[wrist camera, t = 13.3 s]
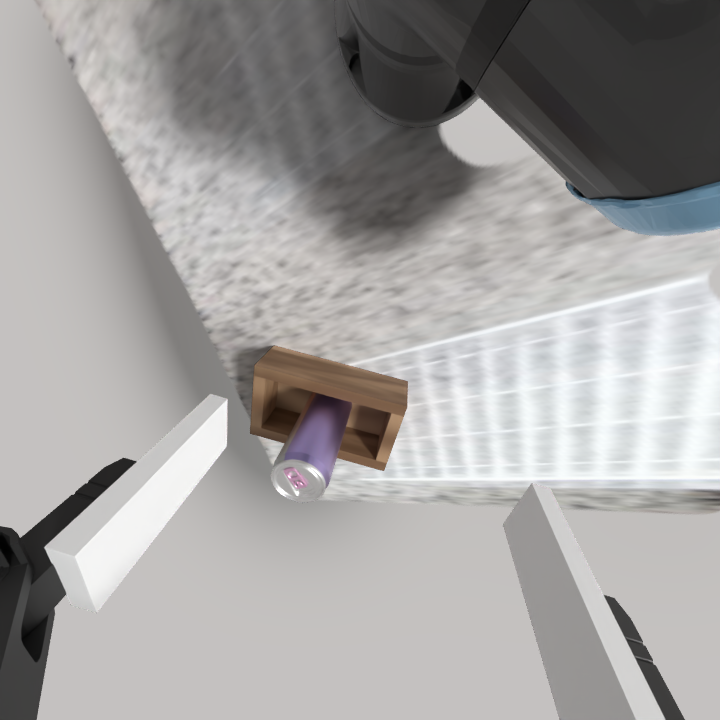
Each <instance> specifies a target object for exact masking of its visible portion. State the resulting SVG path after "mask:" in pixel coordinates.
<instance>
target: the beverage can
mask: <svg viewBox="0 0 720 720" xmlns="http://www.w3.org/2000/svg"><path fill="white" fill-rule="evenodd" d="M351 409H352V402H348V401H345V400H341V399H337V398H334V397H330V396H326V395H323V394H319V393H316V392H312V394H311V396H310V398H309V400H308V401H307V403H306V405H305V407H304V409H303V411H302V412H301V414H300V416H299V418H298V420H297V422H296V424H295V425H294V427H293V429H292V431H291V433H290V435H289V436H288V438H287V440H286V442H285V444H284V446H283V448H282V449H281V451H280V453H279V455H278V457H277V459H276V460H275V462H274V466H273V470H272V473H271V481H272V484H273V486H274V487H275V489H276V490H277V491H278V492H279V493H280V494H281V495H283V496H284V497H286V498H288V499H290V500H293V501H296V502H302V503H308V502H313V501H316V500H318V499H319V498H320V497H321V496H322V495H323V494H324V492H325V489H326V488H327V487H328V485H329V482H330V479H331V475H332V472H333V469H334V465H335V462H336V459H337V455H338V452H339V449H340V445H341V442H342V439H343V435H344V432H345V429H346V425H347V422H348V419H349V415H350V412H351Z"/></svg>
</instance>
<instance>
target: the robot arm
mask: <svg viewBox="0 0 720 720" xmlns="http://www.w3.org/2000/svg"><path fill="white" fill-rule="evenodd" d="M334 11H335V24H336V33H337V39H338V44H339V48H340V52H341V55H342V59H343V61H344V64H345V67H346V69H347V71H348V74H349V76H350V78H351V80H352V82H353V84H354V86H355V88H356V90H357V91H358V93H359V94H360V96H361V97H362V99H363V100H364V101H365V102H366V104H367V105H368V106H369V107H370V108H371V109H372V110H374V111H375V112H376V113H377V114H378V115H380V116H381V117H383V118H384V119H386V120H388V121H390V122H392V123H395V124H398V125H401V126H406V127H428V126H433V125H437V124H440V123H443V122H445V121H448V120H450V119H452V118H454V117H455V116H457V115H459V114H460V113H462V112H463V111H464V110H466V109H467V108H468V107H470V106H471V105H472V104H473V103H474V102H475V101H476V100H477V99H478V98H481V99H482V100H483V101H484V102H485V103H486V104H487V105H488V106H489V107H490V108H491V109H492V110H493V111H494V112H495V113H496V114H497V115H498V116H499V117H500V118H501V119H503V120H504V121H505V122H506V123H507V124H508V125H509V126H510V127H511V128H512V129H513V130H514V131H515V132H516V133H517V134H518V135H519V136H520V137H521V138H522V139H523V140H524V141H525V142H526V143H528V145H529V146H530V147H531V148H533V149H534V150H535V151H536V152H537V153H538V154H539V155H540V156H541V157H542V158H543V159H544V160H545V161H546V162H547V163H548V164H549V165H550V166H551V167H552V168H553V169H554V170H555V171H556V172H557V173H558V174H559V175H560V176H561V177H562V178H563V179H565V180H566V187H567V188H568V190H569V191H570V192H571V193H572V194H573V195H574V196H575V197H576V198H577V199H579V200H581V201H584V202H586V203H588V204H590V205H592V206H594V207H595V208H596V209H597V210H598V211H599V212H600V213H602V214H603V215H604V216H605V217H606V218H607V219H609V220H610V221H611V222H612V223H613V224H615V225H616V226H618V227H620V228H622V229H627V230H629V231H632V232H635V233H638V234H645V235H656V236H670V235H684V234H692V233H699V232H705V231H710V230H715V229H719V228H720V0H334ZM227 400H228V399H227V398H223V397H219V396H216V395H212V394H210V395H209V396H208V397H207V398H206V399H205V400H203V401H202V402H201V403H200V404H199V405H198V406H197V407H196V408H195V409H194V410H193V411H192V412H190V413H189V414H188V415H187V416H186V417H185V418H184V419H183V420H182V421H181V422H180V423H178V425H176V426H175V427H174V428H173V429H172V430H171V431H170V432H169V433H168V434H167V435H165V436H164V437H163V438H162V439H161V440H160V441H159V442H158V443H157V444H156V445H155V446H153V448H151V449H150V450H149V451H148V452H147V453H146V454H145V455H144V456H143V457H142V458H140V459H139V460H138V461H137V462H136V461H133V460H130V459H126V458H122V459H120V460H118V461H116V462H114V463H112V464H110V465H108V466H106V467H104V468H103V469H102V470H101V471H100V472H98V473H97V474H96V475H95V476H94V477H93V478H91V479H90V480H89V482H88V483H87V484H84V485H83V486H82V487H81V488H79V489H78V490H77V491H76V492H75V494H74V495H71V496H70V497H69V498H68V499H66V500H65V501H64V502H63V503H62V504H60V505H59V506H58V507H57V508H56V509H55V510H53V511H52V512H51V513H50V514H48V515H47V516H46V517H45V518H44V519H43V520H41V521H40V522H39V523H38V524H37V525H35V526H34V527H33V528H32V529H31V530H30V531H28V532H27V533H26V534H25V535H24V536H22V537H21V538H20V537H19V535H18V534H17V533H16V532H15V531H14V530H13V529H12V528H7V527H1V526H0V720H36V719H37V714H38V708H39V701H40V696H41V691H42V685H43V679H44V673H45V668H46V662H47V656H48V650H49V644H50V639H51V633H52V627H53V621H54V616H55V610H54V607H55V606H56V605H57V604H58V603H59V602H60V601H61V600H62V598H63V597H64V596H65V595H66V596H67V598H68V600H69V603H70V605H72V606H75V607H78V608H82V609H85V610H88V611H91V612H95V613H97V612H98V611H99V610H100V608H101V607H102V606H103V604H104V603H105V602H106V600H107V599H108V598H109V597H110V595H111V594H112V593H113V592H114V590H115V589H116V588H117V586H118V585H119V584H120V583H121V581H122V580H123V579H124V577H125V576H126V575H127V574H128V572H129V571H130V570H131V568H132V567H133V566H134V564H135V563H136V562H137V561H138V559H139V558H140V557H141V556H142V554H143V553H144V552H145V550H146V549H147V548H148V546H149V545H150V544H151V543H152V541H153V540H154V539H155V538H156V536H157V535H158V534H159V533H160V531H161V530H162V529H163V527H164V526H165V525H166V524H167V522H168V521H169V520H170V518H171V517H172V516H173V515H174V513H175V512H176V511H177V509H178V508H179V507H180V506H181V504H182V503H183V502H184V500H185V499H186V498H187V496H188V495H189V494H190V493H191V491H192V490H193V489H194V488H195V486H196V485H197V484H198V482H199V481H200V480H201V479H202V477H203V476H204V475H205V473H206V472H207V471H208V470H209V468H210V467H211V466H212V464H213V463H214V462H215V461H216V459H217V458H218V457H219V455H220V454H221V453H222V452H223V450H224V449H225V448H226V446H227V402H228V401H227ZM503 526H504V530H505V533H506V536H507V540H508V544H509V547H510V550H511V554H512V557H513V561H514V564H515V568H516V571H517V574H518V578H519V581H520V584H521V588H522V592H523V595H524V599H525V602H526V606H527V609H528V612H529V616H530V619H531V623H532V626H533V630H534V633H535V636H536V640H537V643H538V647H539V650H540V653H541V657H542V661H543V664H544V667H545V671H546V674H547V678H548V681H549V685H550V688H551V692H552V695H553V699H554V702H555V705H556V709H557V712H558V715H559V719H560V720H685V719H684V717H683V715H682V714H681V712H680V710H679V708H678V706H677V704H676V702H675V700H674V699H673V697H672V695H671V693H670V691H669V689H668V687H667V686H666V684H665V682H664V680H663V678H662V676H661V674H660V672H659V671H658V669H657V667H656V666H655V665H654V664H653V659H652V658H651V656H650V654H649V652H648V650H647V648H646V646H644V645H643V641H642V639H641V637H640V635H639V633H638V631H637V630H636V628H635V626H634V624H633V622H632V620H631V619H630V617H629V616H628V615H627V614H626V612H625V611H624V610H623V608H622V607H621V606H620V605H619V603H618V602H617V601H616V600H615V598H612V597H609V596H605V595H603V593H602V591H601V589H600V587H599V585H598V583H597V581H596V579H595V577H594V575H593V573H592V571H591V569H590V567H589V565H588V563H587V561H586V559H585V557H584V555H583V553H582V551H581V549H580V547H579V545H578V543H577V541H576V539H575V537H574V535H573V533H572V531H571V529H570V527H569V525H568V523H567V521H566V519H565V517H564V515H563V513H562V511H561V509H560V507H559V505H558V503H557V501H556V499H555V497H554V495H553V493H552V491H551V489H550V488H548V487H544V486H541V485H537V484H533V483H532V484H531V485H530V486H529V488H528V489H527V491H526V492H525V494H524V495H523V496H522V498H521V499H520V501H519V502H518V503H517V505H516V506H515V508H514V509H513V511H512V512H511V513H510V515H509V516H508V518H507V519H506V521H505V522H504V524H503Z"/></svg>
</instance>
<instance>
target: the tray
mask: <svg viewBox="0 0 720 720" xmlns="http://www.w3.org/2000/svg"><path fill="white" fill-rule="evenodd" d="M312 392H316V393H319V394H323V395H326V396H330V397H334V398H337V399H341V400H345V401H348V402H352V409H351V412H350V415H349V419H348V422H347V425H346V429H345V432H344V435H343V439H342V442H341V445H340V449H339V452H338V455H337V458H339V459H343V460H346V461H350V462H353V463H357V464H360V465H364V466H368V467H371V468H375V469H378V470H382V471H384V470H385V467H386V464H387V461H388V458H389V456H390V453H391V450H392V447H393V445H394V442H395V439H396V436H397V434H398V431H399V428H400V425H401V423H402V420H403V417H404V414H405V411H406V409H407V392H408V381H404V380H400V379H397V378H393V377H389V376H386V375H382V374H378V373H374V372H371V371H367V370H363V369H360V368H356V367H352V366H348V365H345V364H341V363H337V362H334V361H330V360H326V359H322V358H319V357H315V356H311V355H308V354H304V353H300V352H296V351H293V350H289V349H285V348H282V347H278V346H273V347H272V348H271V349H270V350H269V351H268V352H267V353H266V354H265V355H264V356H263V357H262V358H261V359H260V360H259V361H258V362H257V363H256V364H255V365H254V379H253V395H252V410H251V426H250V434H254V435H257V436H261V437H264V438H268V439H271V440H275V441H278V442H282V443H285V442H286V440H287V438H288V436H289V435H290V433H291V431H292V429H293V427H294V425H295V424H296V422H297V420H298V418H299V416H300V414H301V412H302V411H303V409H304V407H305V405H306V403H307V401H308V400H309V398H310V396H311V394H312Z"/></svg>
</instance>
